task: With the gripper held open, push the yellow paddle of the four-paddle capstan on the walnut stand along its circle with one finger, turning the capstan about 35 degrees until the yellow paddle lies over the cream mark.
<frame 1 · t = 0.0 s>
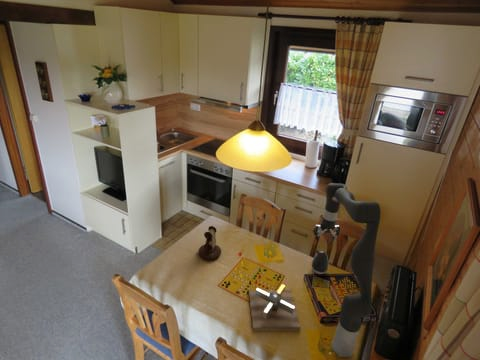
hand: (324, 240, 174), 29 cm above the table, tool pointing down, fingers open, 8 cm apart
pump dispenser: (318, 271, 194), on the table
dark brown tall figurine: (209, 254, 201), on the table
level stand: (272, 310, 164), on the table
capstan: (274, 302, 161), point 6 cm above the table, hinge at -35.0°
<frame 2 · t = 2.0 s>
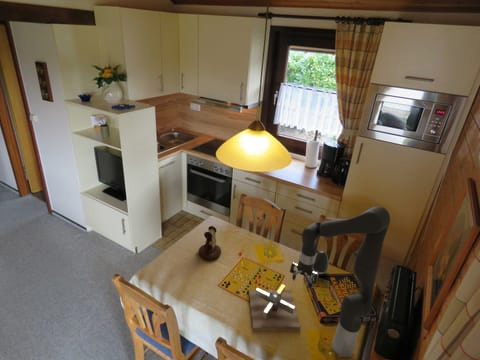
hand: (301, 283, 159), 18 cm above the table, tool pointing down, fingers open, 8 cm apart
nothing on the table moved.
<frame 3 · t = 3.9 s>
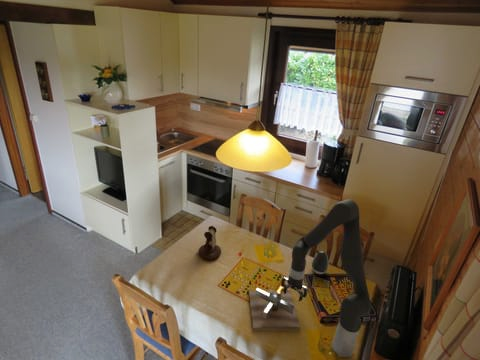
hand: (292, 296, 166), 6 cm above the table, tool pointing down, fingers open, 8 cm apart
capstan: (274, 302, 161), point 6 cm above the table, hinge at -35.0°, touching gripper
everything else where it was.
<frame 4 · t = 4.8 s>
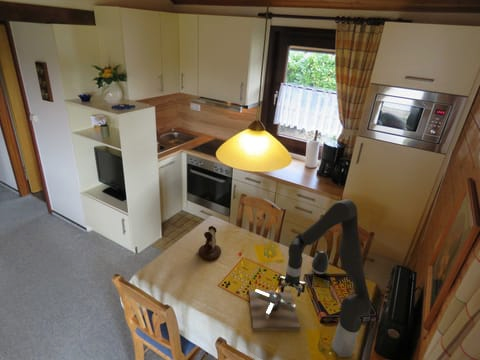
hand: (290, 293, 167), 6 cm above the table, tool pointing down, fingers open, 8 cm apart
capstan: (274, 302, 161), point 6 cm above the table, hinge at -28.6°, touching gripper
everything else where it was.
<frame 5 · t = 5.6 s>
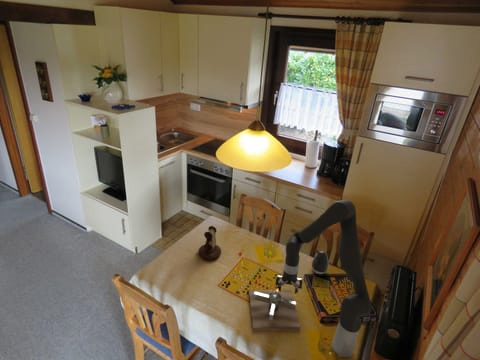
hand: (287, 291, 169), 6 cm above the table, tool pointing down, fingers open, 8 cm apart
capstan: (274, 302, 161), point 6 cm above the table, hinge at -18.3°, touching gripper
everything else where it was.
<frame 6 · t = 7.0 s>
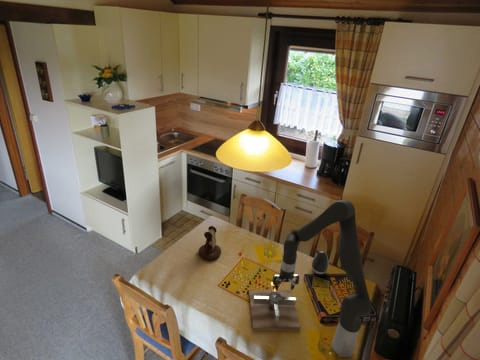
hand: (284, 289, 170), 6 cm above the table, tool pointing down, fingers open, 8 cm apart
capstan: (274, 302, 161), point 6 cm above the table, hinge at -2.7°, touching gripper
everything else where it was.
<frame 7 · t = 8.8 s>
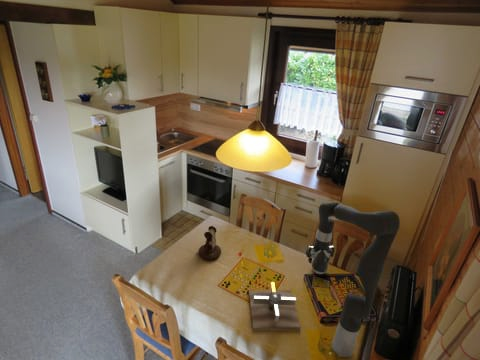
hand: (317, 262, 161), 27 cm above the table, tool pointing down, fingers open, 8 cm apart
capstan: (274, 302, 161), point 6 cm above the table, hinge at -2.7°
everything else where it was.
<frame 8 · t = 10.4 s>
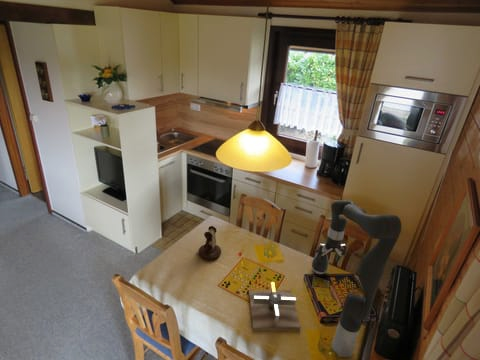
hand: (329, 260, 161), 28 cm above the table, tool pointing down, fingers open, 8 cm apart
nothing on the table moved.
at the end: capstan at -3° (first picture: -35°); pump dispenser moved 0.2 cm from its start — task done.
